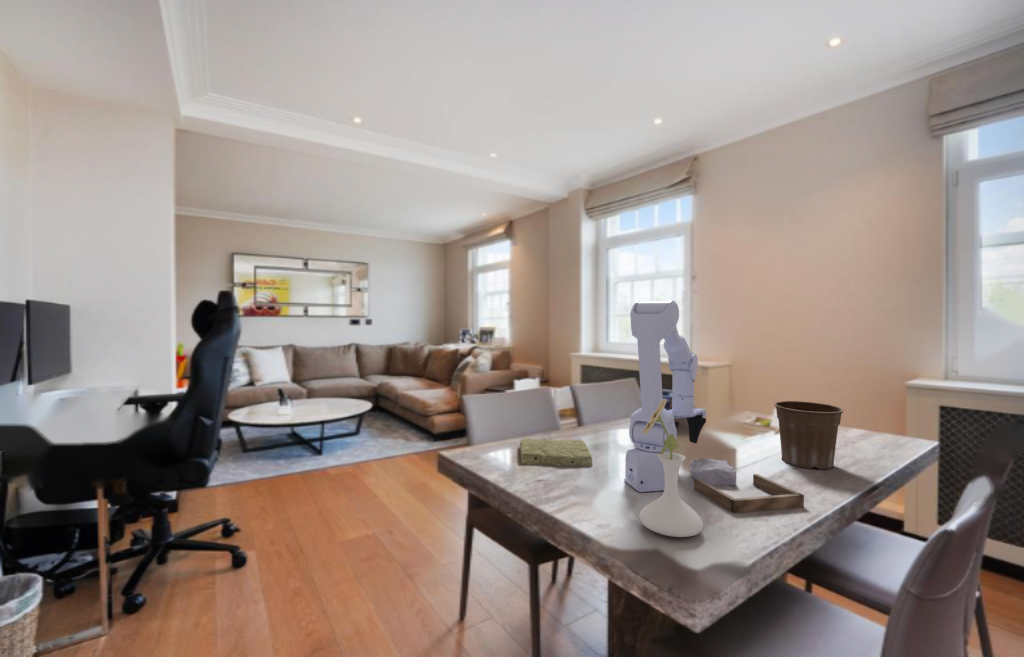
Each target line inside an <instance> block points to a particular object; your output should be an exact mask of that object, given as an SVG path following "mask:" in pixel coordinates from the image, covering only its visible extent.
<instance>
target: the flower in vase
mask: <svg viewBox="0 0 1024 657" xmlns="http://www.w3.org/2000/svg"><path fill="white" fill-rule="evenodd" d="M666 404H667V399H666V398H663V399H662V401H661V402H660V404H659V406H658V408H657V410H656V411H655V412H654V413H653V415H652V417H651V419H650V421H649V422H648V423H647V424H646V426H645V428H644V430H643V431H642V433H643V432H644V433H643V434H645V435H646V434H647V433H648V432H649V430H650V429H651V428H652V426H653V425H654V423H655V422H661V424H662V426H663V428H664V430H665V432H666V435H667V439H666V440H665V441H664V443H665V446H664V447H663V448H662V451H661V453H659V454H658V457H659V459H660V460H661V462H662V465H663V468H664V475H665V489H664V490H663V493H662V494H661V496H659V497H658V498H657V499H654V500H653V501H651V502H649V503H648V504H647V505H645V506H644V507H643V508H642V509H641V510H640V513H639V515H638V517H639V520H640V522H641V524H642V525H643V526H644V527H646V528H647V529H649V530H650V531H651V532H655V533H657V534H660V535H663V536H667V537H672V538H673V537H674V538H686V537H687V538H688V537H692V536H696V535H698V534H700V533H701V532H702V530H703V529H704V522H703V520H702V518H701V516H700V515H699V514H698V513H697V512H696V510H694V509H693V508H692V507H691V506H690V505H689V504H687V502H685V501H684V500H682V498H681V497H680V494H679V491H678V478H679V472H680V468H681V467H682V465H683V463H684V461H685V460H686V458H687V457H686V456H685V455H683V454H681V453H676V452H673V451H675V450H677V449H678V448H679V443H678V442H677V439H675V437H674V435H673V434H671V435H670V436H669V435H668V432H667V430H666V427H665V425H664V423H663V421H662V420H661V416H660V414H661V412H662V410H663V409H664V408H666V407H665V406H666ZM667 448H668V449H669V451H668V452H665V451H666V449H667Z"/></svg>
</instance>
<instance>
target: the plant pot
mask: <svg viewBox="0 0 1024 657" xmlns="http://www.w3.org/2000/svg"><path fill="white" fill-rule="evenodd" d="M773 406H774V407H775V410H776V411H775V412H776V418H777V419H778V420H777V421H778V427H779V428H778V429H779V439H780V449H781V450H780V451H781V452H780V453H781V460H783V462H785V463H787V464H789V465H792V466H794V467H798V468H803V469H804V468H805V469H809V470H810V469H812V468H816V469H817V470H830V469H832V468H833V467H834V464H835V457H836V456H835V454H836V447H837V446H836V445H837V439H838V438H837V437H838V433H839V432H838V430H839V426H840V425H841V419H842V414H843V413H844V410H845V409H843V408H842V407H839V406H837V405H832V404H826V403H819V402H812V401H810V402H809V401H800V400H799V401H798V400H785V401H784V400H783V401H776V402H774V405H773Z"/></svg>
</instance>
